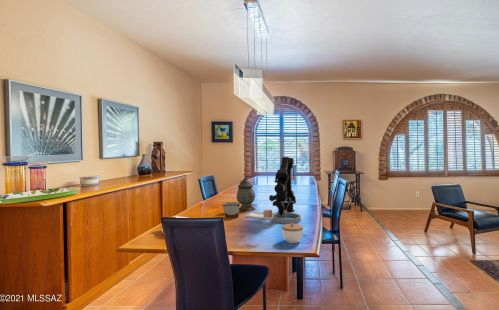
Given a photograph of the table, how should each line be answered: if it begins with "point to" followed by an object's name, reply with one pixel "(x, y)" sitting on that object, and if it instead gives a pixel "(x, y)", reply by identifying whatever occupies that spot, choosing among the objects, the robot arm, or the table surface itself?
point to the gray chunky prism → (282, 214)
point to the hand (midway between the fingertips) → (282, 214)
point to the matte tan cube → (267, 213)
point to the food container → (231, 209)
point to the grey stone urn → (245, 195)
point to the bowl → (288, 218)
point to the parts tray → (258, 215)
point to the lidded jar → (292, 232)
